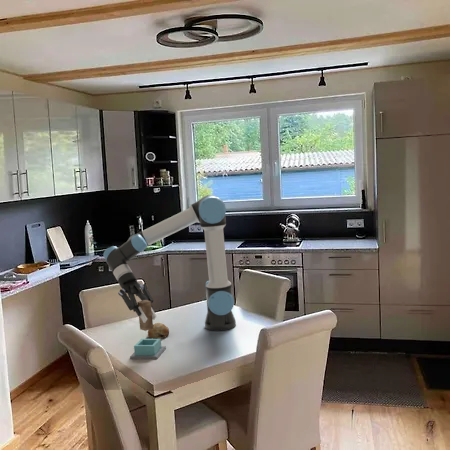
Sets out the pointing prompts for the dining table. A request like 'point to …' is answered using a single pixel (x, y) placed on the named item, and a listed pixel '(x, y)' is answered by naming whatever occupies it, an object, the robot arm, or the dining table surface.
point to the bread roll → (158, 331)
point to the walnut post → (147, 311)
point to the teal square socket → (148, 349)
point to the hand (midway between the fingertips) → (150, 319)
